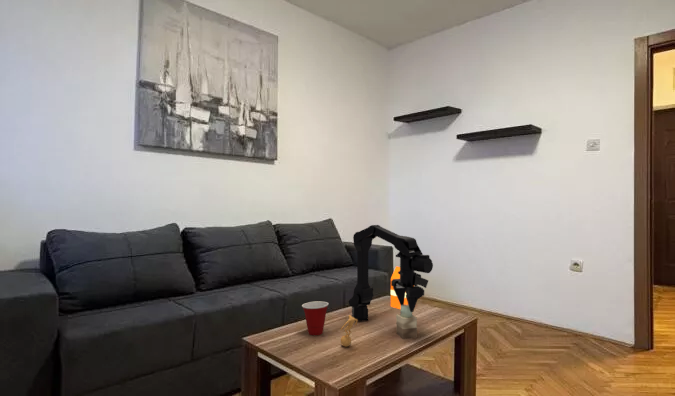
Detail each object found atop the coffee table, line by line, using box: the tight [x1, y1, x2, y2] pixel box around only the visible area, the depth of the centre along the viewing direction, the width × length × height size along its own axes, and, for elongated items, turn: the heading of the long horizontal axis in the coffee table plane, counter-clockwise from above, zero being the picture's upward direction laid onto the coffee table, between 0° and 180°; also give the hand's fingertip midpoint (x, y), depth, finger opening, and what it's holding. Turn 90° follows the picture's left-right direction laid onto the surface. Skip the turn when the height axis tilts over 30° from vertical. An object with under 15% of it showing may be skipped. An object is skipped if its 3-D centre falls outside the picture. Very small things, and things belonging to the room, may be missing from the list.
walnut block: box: [395, 325, 418, 340], centre depth 153 cm, size 6×6×4 cm
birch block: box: [395, 313, 418, 329], centre depth 153 cm, size 6×6×4 cm
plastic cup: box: [301, 300, 329, 336], centre depth 155 cm, size 11×11×12 cm
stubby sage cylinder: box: [400, 304, 413, 318], centre depth 153 cm, size 5×5×4 cm
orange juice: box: [390, 265, 408, 310], centre depth 193 cm, size 8×9×20 cm
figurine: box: [340, 314, 359, 348], centre depth 140 cm, size 8×6×12 cm
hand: (406, 308), depth 153 cm, fingers open, 9 cm apart
